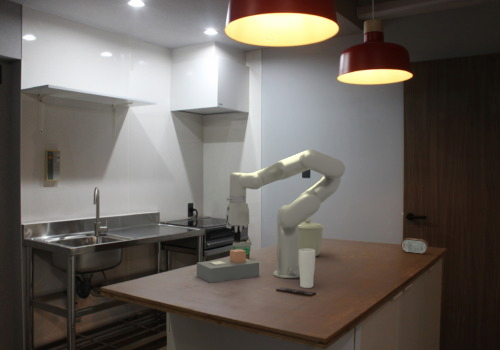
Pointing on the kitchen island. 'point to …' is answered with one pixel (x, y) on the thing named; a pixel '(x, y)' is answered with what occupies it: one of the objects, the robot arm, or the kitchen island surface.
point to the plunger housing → (227, 270)
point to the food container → (243, 247)
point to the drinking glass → (306, 267)
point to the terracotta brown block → (237, 256)
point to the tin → (415, 245)
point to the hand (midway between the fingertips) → (236, 240)
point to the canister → (310, 236)
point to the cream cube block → (217, 263)
